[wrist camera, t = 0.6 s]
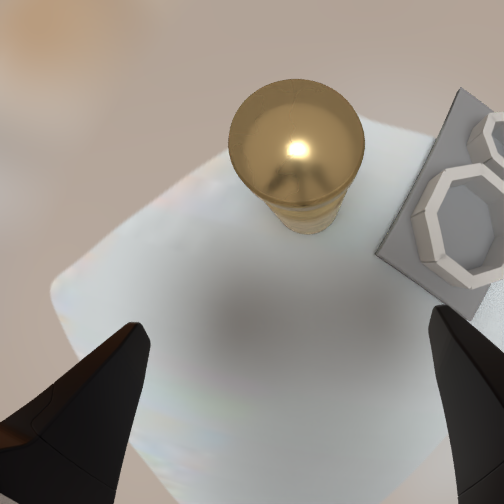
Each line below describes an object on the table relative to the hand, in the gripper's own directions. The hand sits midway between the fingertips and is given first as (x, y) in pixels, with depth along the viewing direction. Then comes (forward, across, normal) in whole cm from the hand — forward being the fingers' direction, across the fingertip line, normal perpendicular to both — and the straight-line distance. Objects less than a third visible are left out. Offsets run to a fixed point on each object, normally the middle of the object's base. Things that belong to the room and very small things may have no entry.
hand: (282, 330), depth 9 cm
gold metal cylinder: (+14, -1, +3) cm, 15 cm away
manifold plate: (+14, -14, +3) cm, 20 cm away
